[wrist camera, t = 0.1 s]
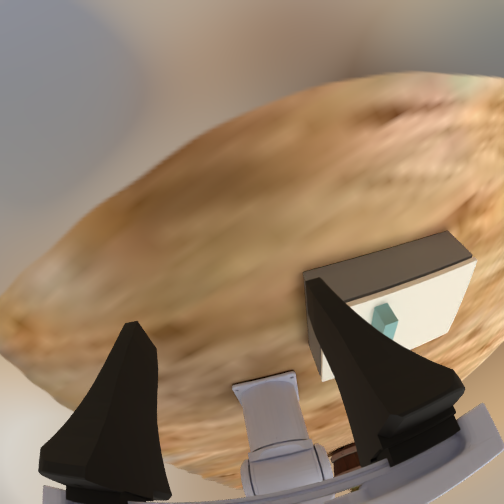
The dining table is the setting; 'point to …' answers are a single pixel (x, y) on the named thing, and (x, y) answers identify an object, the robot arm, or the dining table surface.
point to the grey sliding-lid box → (385, 271)
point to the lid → (414, 308)
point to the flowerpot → (346, 461)
